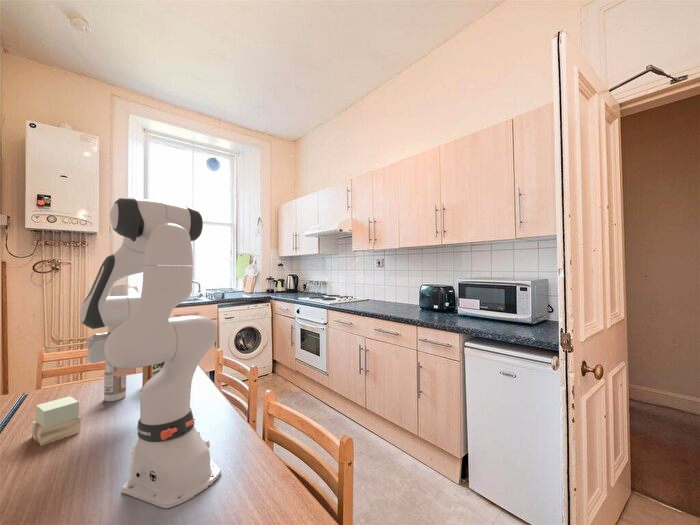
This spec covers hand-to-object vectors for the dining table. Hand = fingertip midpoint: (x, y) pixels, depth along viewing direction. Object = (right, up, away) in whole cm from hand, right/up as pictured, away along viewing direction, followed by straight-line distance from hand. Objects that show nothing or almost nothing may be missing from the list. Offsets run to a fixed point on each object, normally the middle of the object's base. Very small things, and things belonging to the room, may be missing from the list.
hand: (123, 369), depth 108 cm
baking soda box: (-6, -17, +28) cm, 33 cm away
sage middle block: (-11, -11, -13) cm, 20 cm away
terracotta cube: (0, -2, 0) cm, 2 cm away
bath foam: (-14, -17, +14) cm, 26 cm away
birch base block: (-11, -16, -13) cm, 24 cm away
